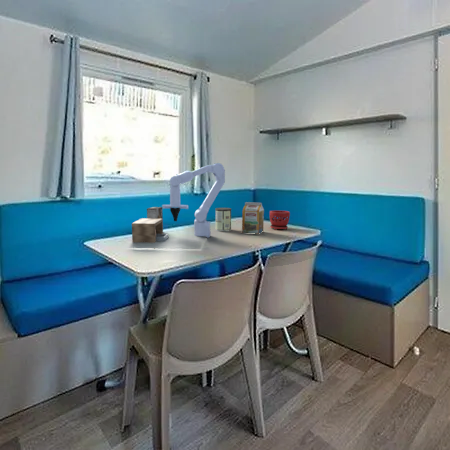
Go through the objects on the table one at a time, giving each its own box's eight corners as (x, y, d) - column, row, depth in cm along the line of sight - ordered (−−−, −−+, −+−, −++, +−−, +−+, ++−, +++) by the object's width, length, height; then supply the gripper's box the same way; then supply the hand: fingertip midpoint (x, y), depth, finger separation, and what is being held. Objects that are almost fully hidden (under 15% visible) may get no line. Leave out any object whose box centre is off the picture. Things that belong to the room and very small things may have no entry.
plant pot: (290, 230, 221) (291, 212, 219) (270, 230, 221) (271, 212, 220) (287, 227, 234) (288, 209, 232) (268, 227, 234) (268, 209, 232)
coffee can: (220, 228, 229) (221, 207, 227) (234, 229, 223) (234, 208, 221) (212, 230, 220) (212, 208, 218) (225, 232, 215) (225, 209, 213)
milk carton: (242, 233, 210) (242, 202, 207) (247, 230, 220) (248, 201, 217) (258, 234, 206) (259, 203, 203) (263, 232, 216) (264, 202, 213)
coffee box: (153, 232, 211) (152, 206, 209) (163, 232, 210) (162, 207, 207) (147, 235, 202) (146, 208, 200) (157, 235, 201) (156, 208, 199)
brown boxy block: (163, 237, 196) (162, 218, 194) (155, 244, 178) (154, 223, 177) (142, 237, 197) (141, 218, 195) (132, 243, 179) (131, 223, 177)
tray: (168, 239, 191) (168, 234, 191) (164, 242, 183) (164, 237, 182) (147, 238, 192) (147, 233, 192) (142, 242, 183) (142, 236, 183)
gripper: (160, 197, 190) (161, 221, 193) (186, 198, 190) (186, 222, 192) (163, 196, 197) (164, 220, 199) (188, 197, 197) (188, 220, 199)
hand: (175, 221), depth 196 cm, fingers closed
